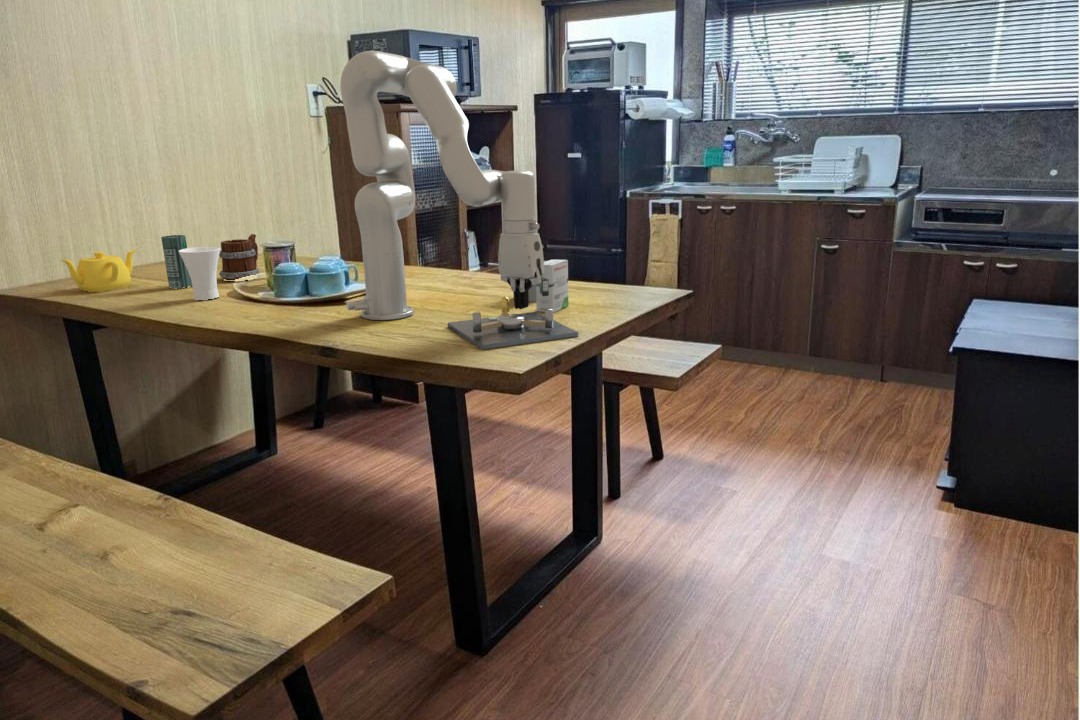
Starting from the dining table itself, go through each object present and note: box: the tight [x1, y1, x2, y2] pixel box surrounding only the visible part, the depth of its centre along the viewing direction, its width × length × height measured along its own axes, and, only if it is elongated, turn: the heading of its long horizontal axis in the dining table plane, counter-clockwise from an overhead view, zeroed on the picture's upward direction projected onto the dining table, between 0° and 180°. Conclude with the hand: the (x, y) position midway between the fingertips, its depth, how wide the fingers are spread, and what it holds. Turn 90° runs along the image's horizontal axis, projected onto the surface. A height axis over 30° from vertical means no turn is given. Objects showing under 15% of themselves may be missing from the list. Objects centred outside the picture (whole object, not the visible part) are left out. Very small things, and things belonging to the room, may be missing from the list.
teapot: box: [60, 249, 137, 293], centre depth 230 cm, size 22×16×11 cm
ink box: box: [536, 259, 569, 314], centre depth 192 cm, size 9×5×12 cm, turn 151°
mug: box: [218, 233, 261, 280], centre depth 242 cm, size 12×14×15 cm
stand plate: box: [447, 311, 579, 350], centre depth 173 cm, size 22×22×1 cm
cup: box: [179, 246, 221, 301], centre depth 213 cm, size 10×10×14 cm
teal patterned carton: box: [160, 234, 193, 288], centre depth 229 cm, size 6×6×15 cm
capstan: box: [471, 296, 554, 333], centre depth 174 cm, size 15×17×5 cm
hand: (521, 307), depth 180 cm, fingers closed
